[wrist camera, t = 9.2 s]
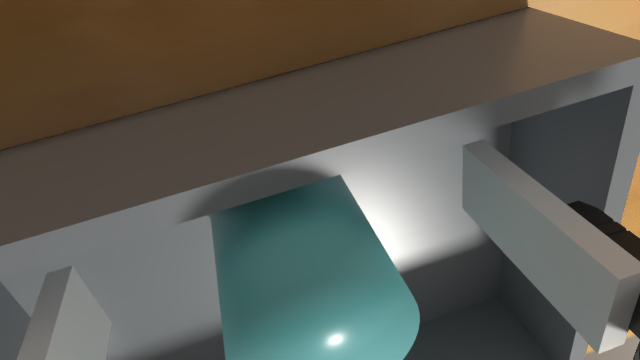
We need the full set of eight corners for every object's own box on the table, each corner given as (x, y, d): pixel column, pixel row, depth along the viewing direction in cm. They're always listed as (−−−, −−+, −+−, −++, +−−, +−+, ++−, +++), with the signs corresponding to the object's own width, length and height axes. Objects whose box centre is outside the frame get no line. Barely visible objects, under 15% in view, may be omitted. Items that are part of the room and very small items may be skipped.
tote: (116, 431, 22) (101, 568, 18) (-103, 178, 14) (-243, 318, 9) (504, 293, 25) (578, 381, 20) (529, 7, 16) (666, 48, 12)
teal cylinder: (236, 119, 15) (273, 255, 9) (361, 157, 17) (454, 287, 11) (191, 235, 17) (198, 408, 11) (308, 257, 19) (365, 412, 13)
